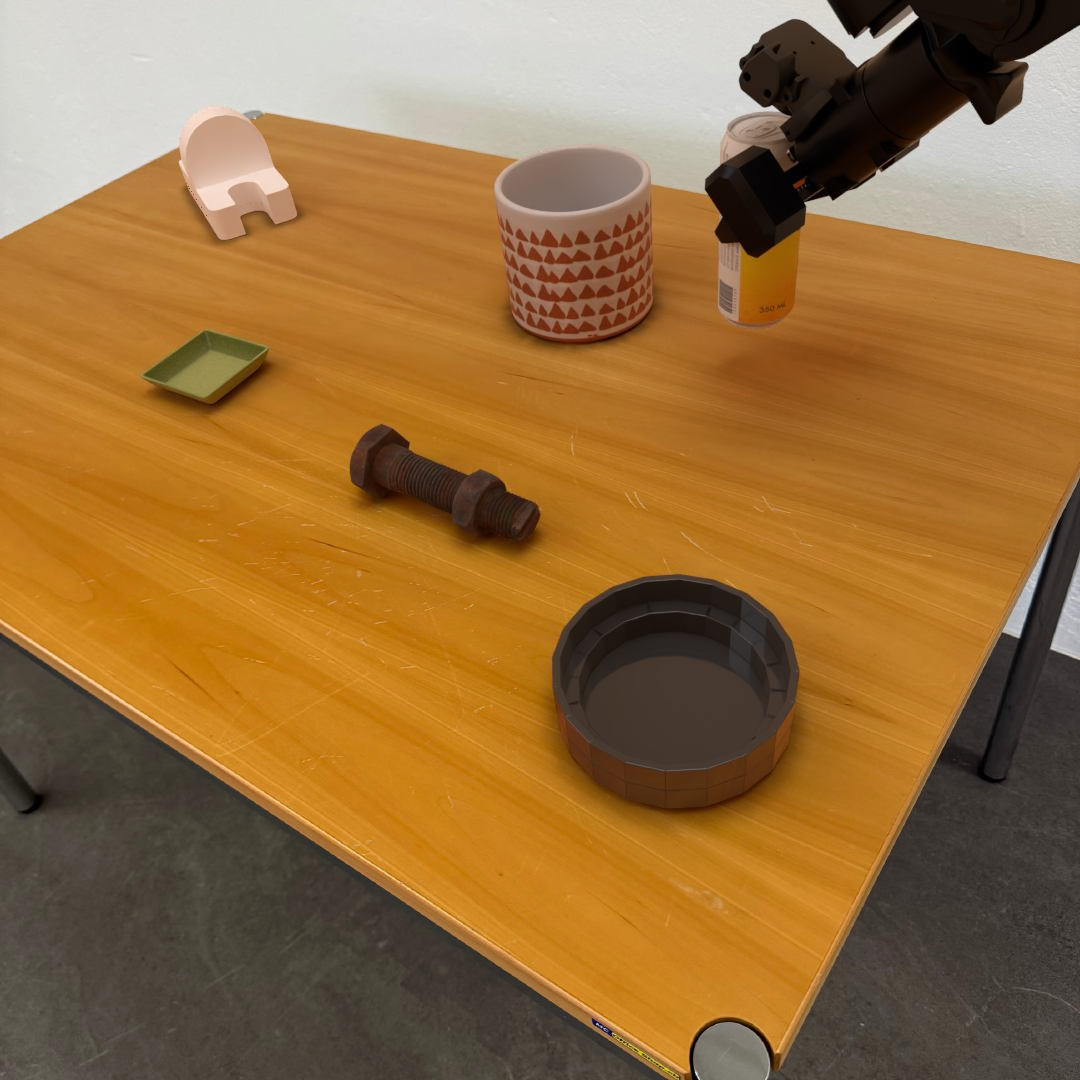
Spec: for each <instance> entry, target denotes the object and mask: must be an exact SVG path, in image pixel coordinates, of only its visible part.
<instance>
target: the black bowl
mask: <svg viewBox="0 0 1080 1080" xmlns="http://www.w3.org/2000/svg"><path fill="white" fill-rule="evenodd" d="M551 673H552V674H551V677H552V679H551V681H552V682H551V684H552V686H551V687H552V692H553V699H554V704H555V711H556V718H557V725H558V727H559V730H560V732H561V735H562V737H563V740H564V742H565V745H566V747H567V750H568V752H569V754H570V755H571V757H572V758H573V759H574V760H575V762H577V764H578V765H579V766H581V768H582V769H583V770H584V771H585V773H587V775H589V776H590V777H591V779H592V780H594V782H596V783H598V784H600V785H601V786H603V787H604V788H606V789H608V790H610V791H611V792H613V793H615V794H617V795H619V796H620V797H622V798H624V799H625V800H628V801H632V802H636V803H641V804H645V805H649V806H653V807H658V808H662V809H670V810H671V809H682V808H683V809H684V808H685V809H686V808H705V807H708V806H711V805H714V804H717V803H719V802H723V801H725V800H728V799H731V798H733V797H736V796H739V795H742V794H743V793H744V794H745V792H747V791H748V790H749V789H750V788H752V787H754V785H755V784H757V783H758V782H759V781H760V780H762V779H763V778H764V777H766V776H768V774H769V773H770V772H771V771H773V769H774V767H776V764H777V763H778V761H779V759H780V757H782V754H783V753H784V751H785V750H786V748H787V746H788V745H789V743H790V739H791V733H792V726H793V720H794V714H795V707H796V701H797V694H798V687H799V680H800V667H799V663H798V659H797V655H796V651H795V645H794V642H793V639H791V637H790V636H789V634H788V632H787V631H786V630H785V628H784V626H782V623H781V622H780V620H779V619H778V618H777V617H776V615H775V614H774V613H773V611H771V610H770V609H768V608H767V607H766V606H765V605H763V604H762V603H760V602H759V601H758V600H756V599H755V598H754V597H753V596H751V595H750V594H749V593H747V592H746V591H744V590H741V589H738V588H736V587H733V586H731V585H729V584H727V583H724V582H721V581H719V580H717V579H714V578H708V577H703V576H695V575H691V574H683V573H673V574H658V575H645V576H641V577H637V578H635V579H631V580H628V581H625V582H622V583H619V584H616V585H613V586H611V587H609V588H607V589H606V590H604V591H602V592H601V593H599V594H598V595H596V596H595V597H593V598H591V599H589V600H588V601H586V602H585V603H584V604H582V606H580V608H579V609H578V610H577V612H576V613H575V614H574V615H573V616H572V617H571V619H570V620H569V621H568V622H567V623H566V624H565V626H563V628H562V630H561V632H560V635H559V637H558V641H557V643H556V646H555V648H554V651H553V653H552V656H551Z"/></svg>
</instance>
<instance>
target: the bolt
mask: <svg viewBox="0 0 1080 1080" xmlns="http://www.w3.org/2000/svg"><path fill="white" fill-rule="evenodd" d="M410 445H411V442H410V441H409V440H408V439H407V438H405V437H404V436H403V435H401V434H400V433H399V432H398V431H397V430H395V429H394V428H393V427H391V426H388V425H386V424H384V423H379V424H377V425H376V426H373V427H372V428H370V429H368V430H367V431H365V432H364V433H363V434H362V435H361V437H360V438H359V439H358V442H357V443H356V445H355V447H354V449H353V451H352V454H351V455H350V459H349V477H350V482H351V483H352V484H353V485H354V486H356V487H357V488H359V489H360V490H362V491H364V492H365V493H367V494H369V495H371V496H374V497H376V498H378V499H380V500H381V499H382V498H384V497H385V495H386V494H388V492H390V490H391V491H393V492H398V493H401V494H403V495H405V496H407V497H410V498H412V499H415V500H417V501H419V502H421V503H423V504H426V505H428V506H431V507H433V508H435V509H438V510H439V511H441V512H444V513H447V514H448V515H451V517H452V521H453V524H454V525H456V526H458V527H459V528H460V529H461V530H464V531H466V532H467V533H469V534H471V535H473V536H476V537H478V538H481V537H482V536H484V535H487V534H488V533H493V534H495V535H497V536H500V537H503V538H504V539H507V540H508V541H510V542H513V543H515V544H520V543H524V542H526V541H527V540H528V539H530V537H531V536H532V535H533V533H534V532H535V531H536V529H537V526H538V524H539V521H540V518H541V511H540V508H539V505H538V504H537V502H534V501H533V500H529V499H526V498H525V497H522V496H521V495H518V494H514V493H513V492H510V491H508V490H507V487H506V484H505V482H504V481H503V480H502V479H501V478H499V477H498V476H497V475H495V474H494V473H491V472H488V471H486V470H484V469H482V468H480V469H478V470H476V471H473V472H471V473H470V474H466V473H465V472H462V471H459V470H457V469H454V468H451V467H449V466H447V465H444V464H442V463H439V462H436V461H434V460H433V459H430V458H427V457H424V456H423V455H420V454H417V453H415V452H414V451H413V450H411V449H410Z"/></svg>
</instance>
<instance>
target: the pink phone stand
mask: <svg viewBox="0 0 1080 1080" xmlns="http://www.w3.org/2000/svg"><path fill="white" fill-rule="evenodd" d="M178 147H179V148H178V150H179V154H180V158H181V159H180V160H179V161H178V166H179V169H180V170H181V174H182V176H183V178H184V181H185V184H186V183H187V184H186V187H187V189H188V192H189V193H190V195H191V196H192V198H193V200H194V201H195V203H196V204H197V206H198V207H199V210H200V211H201V212H202V214H203V215H204V217H205V219H206V220H207V222H208V224H209V225H210V228H211V229H212V230H213V232H214V233H215V235H216V237H217V239H219V240H220V241H221V240H222V241H228V240H231V239H235V238H238V237H242V236H244V235H247V233H246V229H245V227H244V225H243V221H242V219H241V217H242V216H244V215H246V214H249V213H253V212H265V213H266V214H267V215H268V217H269V219H271V220H272V222H273V223H274V225H279V224H281V223H285V222H288V221H291V220H293V219H296V218H297V216H298V212H297V208H296V204H295V202H294V199H293V195H292V191H291V188H290V185H289V183H288V181H286V179H285V178H284V177H283V176H282V174H281V173H280V172H279V171H278V170H277V169H276V167H275V166H274V162H273V159H272V156H271V153H270V150H269V146H268V145H267V141H266V140H265V137H264V136H263V134H262V133H261V132H260V131H259V130H258V128H257V127H256V125H254V123H252V121H251V120H250V119H249V118H248V117H247V116H245V115H244V114H243V113H242V112H240V111H238V110H236V109H233V108H231V107H229V106H222V105H221V106H220V105H215V106H208V107H204V108H202V109H200V110H198V111H196V112H195V113H194V114H193V115H191V117H189V118H188V119H187V121H186V122H185V123H184V126H182V129H181V132H180V136H179V146H178ZM188 186H189V187H188ZM189 188H190V189H189ZM191 191H192V192H191ZM193 194H194V195H193ZM196 199H197V200H196ZM249 203H251V204H249ZM261 203H262V204H261ZM246 204H247V205H246ZM241 206H242V207H241ZM201 207H202V208H201ZM206 215H207V216H206Z"/></svg>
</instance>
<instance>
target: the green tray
mask: <svg viewBox="0 0 1080 1080" xmlns="http://www.w3.org/2000/svg"><path fill="white" fill-rule="evenodd" d="M269 351H270V347H269V345H265V344H263V343H259V342H255V341H252V340H248V339H245V338H241V337H237V336H234V335H231V334H227V333H224V332H220V331H217V330H214V329H212V328H206V329H203V330H201V331H199V332H198V333H197V334H195V335H193V336H192V337H191V338H189V339H188V340H187V341H185V342H184V343H182V344H181V345H180V346H178V347H177V348H176V349H174V350H173V351H172V352H170V353H169V354H167V355H166V356H164V357H163V358H161V359H160V360H159V361H157V362H156V363H154V364H153V365H152V366H150V367H149V368H147V369H146V370H145V371H144V372H142V373H141V374H140V375H139V376H140V378H141V379H142V380H144V381H146V382H147V383H150V384H152V385H154V386H156V387H158V388H161V389H164V390H167V391H169V392H173V393H175V394H178V395H182V396H185V397H188V398H190V399H193V400H196V401H199V402H202V403H205V404H208V405H214V404H215V403H217V402H218V401H219V400H221V399H222V398H223V397H224V396H226V395H227V394H229V393H230V392H231V391H232V390H234V389H235V388H236V387H238V385H240V384H242V382H243V381H245V380H246V379H247V378H249V377H250V376H252V375H253V373H255V372H256V371H258V369H259V368H260V367H261V366H262V364H263V363H264V361H265V359H266V358H267V355H268V353H269Z"/></svg>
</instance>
